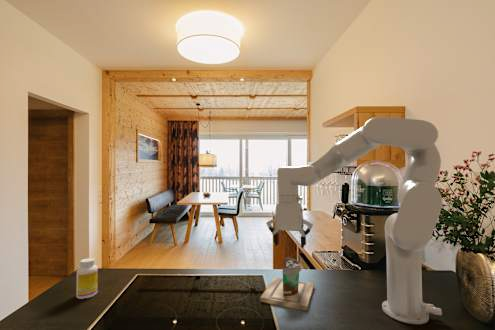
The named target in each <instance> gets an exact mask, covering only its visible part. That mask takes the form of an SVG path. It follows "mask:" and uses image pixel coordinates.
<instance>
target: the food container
mask: <svg viewBox="0 0 495 330" xmlns="http://www.w3.org/2000/svg"><path fill="white" fill-rule="evenodd" d="M301 271H302V268H301V264H300V262H299V260H297V259H295V258H291V257H285V262H284V265H283V267H282V279H283V296H291V295H295V294H297V292H298V284H299V281H300V272H301Z"/></svg>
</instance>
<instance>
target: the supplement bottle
mask: <svg viewBox="0 0 495 330" xmlns="http://www.w3.org/2000/svg"><path fill="white" fill-rule="evenodd" d="M95 262H96V258H94V257H89V258H84V259H80V260H79V266H80V267H78V268H77V270H76V284H75V285H76V287H75V288H76V289H75V290H76V293H75V295H76V298H77V299H79V300H84V299H85V298H86V299H89V298H92V297H94V296H95V295H97V294H98V284H99V283H98V280H99V273H98V272H99V267H98V266H97V265H96V264H95Z"/></svg>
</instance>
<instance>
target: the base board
mask: <svg viewBox="0 0 495 330" xmlns="http://www.w3.org/2000/svg"><path fill="white" fill-rule="evenodd" d="M313 289H315V283H314V282H306V281H300V280H299V284H298V292H297V294H295V295H291V296H283V277H274V278H272V280H271V282H270V283H269V285H268V286H267V287H266V288H265V290H264V291H263V293H262V295H261V296H259V297H260V298H259V299H260V302H261V303H264V304H265V303H266V304H269V305H270V304H271V305H275V306H281V307H285V308H291V309H296V310H300V309H301V310H302V311H305V310H307V309H308V310H309V305H310V303H311V300H310V299H312V296H313V293H314V290H313ZM308 310H307V311H308Z"/></svg>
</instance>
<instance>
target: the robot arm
mask: <svg viewBox="0 0 495 330" xmlns="http://www.w3.org/2000/svg"><path fill="white" fill-rule="evenodd" d="M438 138H439V130H438V129H437V127H436V126H435V125H434V123H432V122H430V121H427V120H423V119H416V118H415V119H412V118H399V117H388V116H387V117H386V116H375V117H372V118H369V119H368V120H366V122H365V123H364V124H363V126H361V127H360V128H358V129H356V130H355V131H353V132H352V133H350V134H348V136H346V137H344V138H343V139H341V140H339V141H338V142H336V143H335V144H333V146H332V147H331V148H330V149H329V150H328V151H327V152H326V153H325V154H323V155H322V156H320V157H319V158H318V159H316V160H315V161H313V162H311V163H310V164H308V165H307V164H305V165H300V166H279V167H278V168H277V173H276V174H277V200H278V201H277V203H276V206H275V212H274V215H275V216H274V217H273V219H270V220H268V221H267V222H266V226H267V227H268V230H269V231H270V232H271V234H272V235H273V243H274V246H275V247H276V246H278V245H279V244H280V235H279V231H287V232H298V233H299V234H300V235H301V236H300V247H301V249H304V248H305V246H306V245H307V238H306V237H307V235H308V234H309V233H310V231H311V230H312V228H313V226H314V224H313V223H311V222H310V221H308V220H306V219H305V218H304V215H303V214H304V213H303V208H302V207H303V206H302V203H301V202H300V201H303V196H300V195H299V186H301V187H311V186H314V185H315V184H317V183H319V182H320V181H322V180H324V179H326V178H327V177H328V176H330V175H332V174H334V173H335V172H337V171H339V170H340V169H343V168H346V167H348V166H349V165H350V164H352V163H354V162H356V161H357V160H359V159H361V158H362V157H364V156H366V155H367V154H368V153H370V152H372V151H373V150H375V149H377V148H378V147H380V146H382V145H384V146H390V147H398V148H401V149H402V150H403V151H404V152H405V153H406V156H407V160H408V161H407V166H406V170H405V173H404V175H403V178H402V181H401V184H400V186H399V188H398V191H397V202H398V203H399V209H398V211H397V212H395V213H392V214H391V215H389V216H388V217H387V219H386V220H385V223H384V238H385V251H386V288H387V289H386V297H387V298H386V299H387V300H384V301H383V302H382V304H381V309H382V311H383V312H384V313H385V314H386V315H387V316H389V317H390V318H392V319H394V320H396V321H398V322H402V323H405V324H410V325H423V324H426V323H428V321H429V320H430V316H429V315H430V314H433V315H437V316H442V315H443V311H442V308H440V307H436V306H435V305H434V304H432V303H425V301H424V300H423V282H422V281H423V278H422V277H423V275H422V252H421V251H422V250H423V249H424V248H425V247H426V246H427V245H428V244H429V243H430V240H431V238H432V236H433V233H434V230H435V228H436V225H437V222H438V219H439V217H440V214H441V211H442V208H443V197H442V194H441V192H440V190H439V189H438V188H437V187H436V183H437V181H438V176H439V175H440V174H439V173H440V170H441V162H442V160H441V159H442V158H441V154H440V152H439V150H438V148H437V146H436V145H435V143H436V142H437V140H438ZM272 224H274V227H275V228H274V227H273V225H272ZM304 226H307V228H306V229H304Z"/></svg>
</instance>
